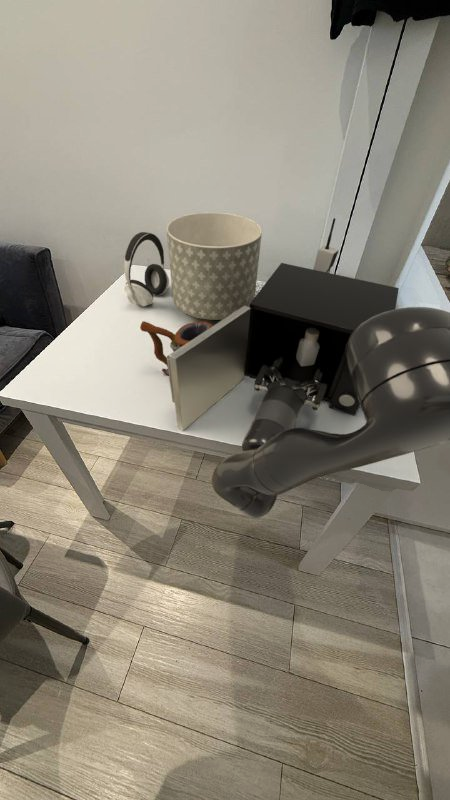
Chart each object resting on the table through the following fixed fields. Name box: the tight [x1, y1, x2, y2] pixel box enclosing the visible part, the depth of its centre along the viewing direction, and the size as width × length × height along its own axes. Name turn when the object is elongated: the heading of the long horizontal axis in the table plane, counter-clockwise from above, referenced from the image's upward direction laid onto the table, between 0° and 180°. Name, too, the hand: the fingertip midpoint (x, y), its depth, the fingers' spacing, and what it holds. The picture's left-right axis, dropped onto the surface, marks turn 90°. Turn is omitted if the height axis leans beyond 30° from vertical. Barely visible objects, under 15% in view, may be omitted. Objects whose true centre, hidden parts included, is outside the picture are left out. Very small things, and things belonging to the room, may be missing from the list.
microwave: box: [244, 262, 399, 416], centre depth 77 cm, size 24×28×20 cm
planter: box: [166, 211, 263, 321], centre depth 95 cm, size 25×25×24 cm
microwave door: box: [166, 306, 251, 432], centre depth 69 cm, size 5×22×20 cm, turn 141°
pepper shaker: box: [296, 327, 320, 366], centre depth 81 cm, size 4×4×10 cm
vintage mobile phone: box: [313, 217, 340, 273], centre depth 100 cm, size 4×5×25 cm
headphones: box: [123, 231, 170, 307], centre depth 99 cm, size 19×8×20 cm, turn 157°
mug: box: [139, 320, 214, 376], centre depth 76 cm, size 18×12×15 cm, turn 78°
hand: (299, 366), depth 73 cm, fingers open, 8 cm apart
